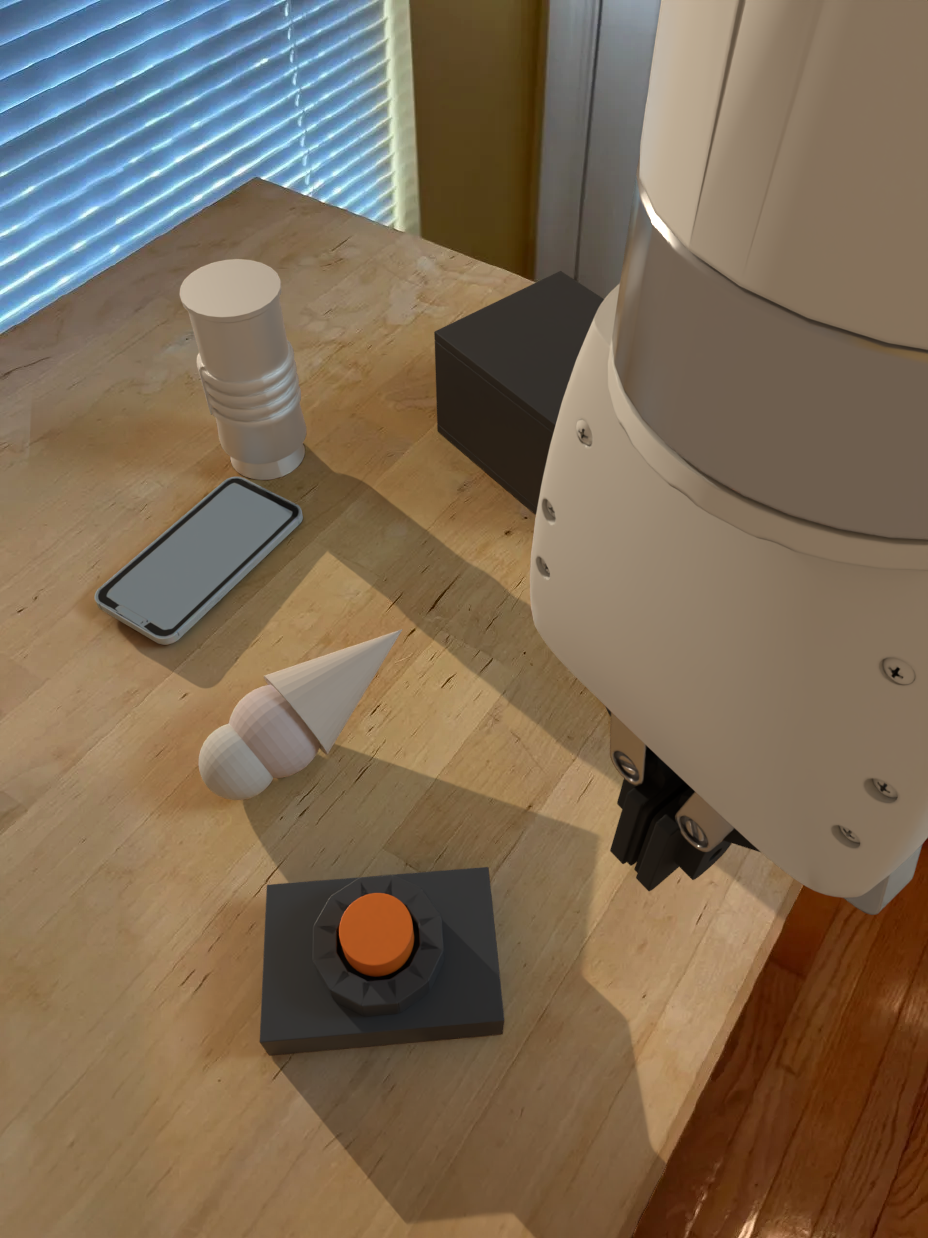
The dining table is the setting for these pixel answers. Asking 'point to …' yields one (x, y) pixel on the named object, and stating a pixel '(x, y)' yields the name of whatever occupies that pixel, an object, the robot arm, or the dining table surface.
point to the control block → (384, 1005)
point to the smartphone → (198, 560)
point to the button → (376, 934)
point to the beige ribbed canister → (247, 365)
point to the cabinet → (512, 378)
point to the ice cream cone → (289, 719)
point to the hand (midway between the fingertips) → (665, 842)
